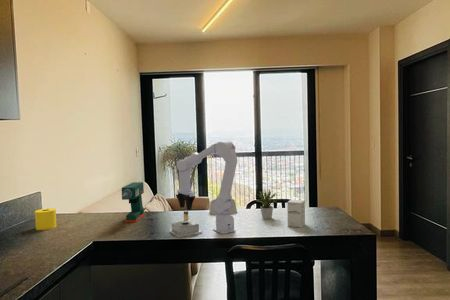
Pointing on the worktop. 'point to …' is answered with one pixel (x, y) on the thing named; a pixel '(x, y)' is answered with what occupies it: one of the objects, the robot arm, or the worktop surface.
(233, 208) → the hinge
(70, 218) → the worktop surface
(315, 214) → the worktop surface
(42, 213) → the yellow holed block
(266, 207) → the house plant
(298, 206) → the supplement box
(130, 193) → the power tool
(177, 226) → the chuck block
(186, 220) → the brass cylinder rod
